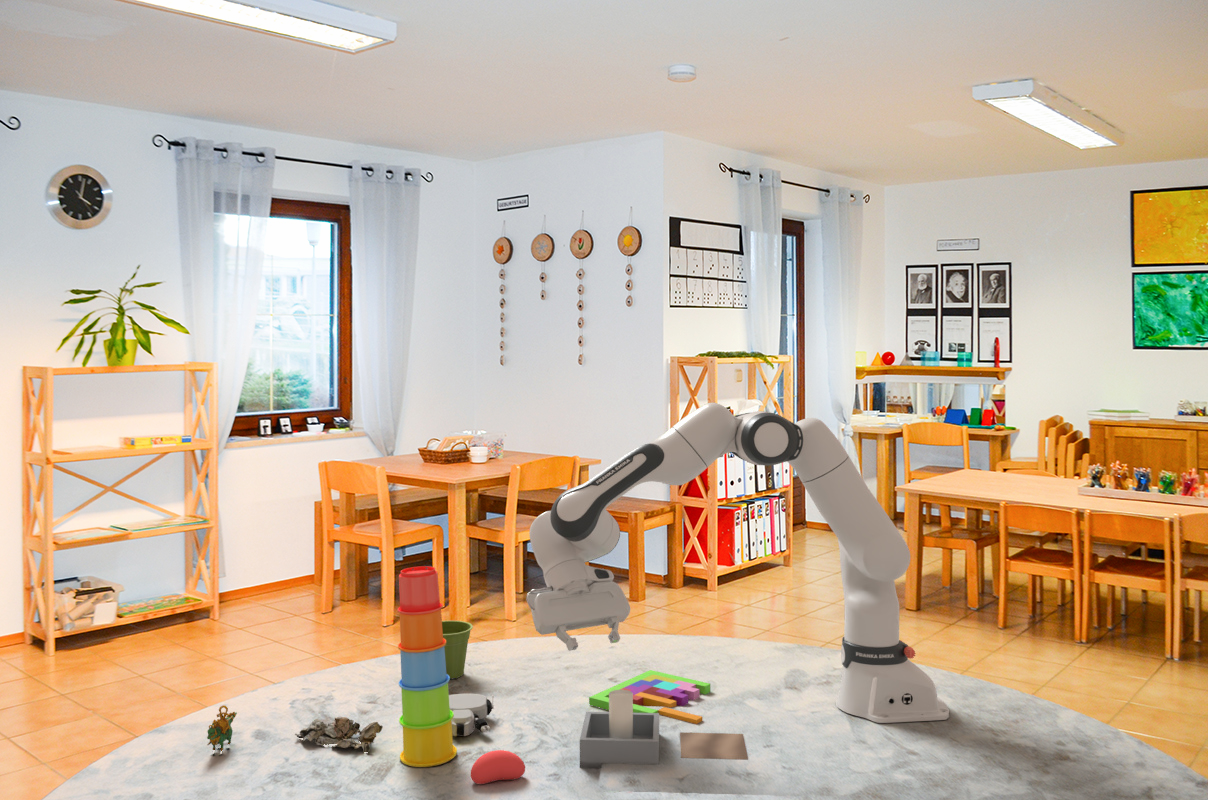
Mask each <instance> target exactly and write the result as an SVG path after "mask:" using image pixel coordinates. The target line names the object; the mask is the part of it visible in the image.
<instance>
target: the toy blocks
mask: <svg viewBox="0 0 1208 800" xmlns="http://www.w3.org/2000/svg"><path fill="white" fill-rule="evenodd" d="M614 690H628V691H631V692H632V693H633V713H659V716H664V717H667V718H672V719H674V720H675V719H676V720H680V721H683V722H687V723H689V724H690V723H691V724H694V725H698V724H699V723H701V722H703V716H700V715H697V714H693V713H690V712H689V713H688V712H685V711H681V710H679V709H678V710H677V709H673V708H677V706H680V707H684V706H686V705H688V704H689V700H691V701H696V700H697V699H699V698H700V694H701V695H704V696H705V695H707V694H709V693H711V683H708V682H704V681H700V680H697V679H693V678H692V679H691V678H688V677H682V676H679V675H675V674H670V673H666V672H665V673H664V672H662V671H661V672H660V671H658V670H657V671H656V670H652V669H650V670H647V671H644V672H643V673H640V674H638V675H636V676H634V677H632V678H629V679H627V680H624V681H623V682H621V683H618V684H616V685H614V686H612V687H609V688H607V689H604V690H602V691H600V692H598V693H595V694H593V695H592V696H591V695H590V696H588V697H589V698H588V701H589V702H588V705H589V704H590V705H593V706H597V707H600V708H603V709H602V710H604V709H607V710H606V711H608V710H609V693H610V692H611V691H614ZM593 706H592V707H593ZM597 707H596V708H597ZM651 707H656V708H657V707H660V709H656V708H655V709H654V708H651ZM600 708H599V709H600Z"/></svg>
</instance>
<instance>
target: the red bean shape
mask: <svg viewBox="0 0 1208 800" xmlns="http://www.w3.org/2000/svg"><path fill="white" fill-rule="evenodd" d="M525 771H526V765H525V763H524V761H523V760H522V758H521V757H520V756H519V755H517V754H516V753H514V752H511V751H510V750H504V749H503V750H502V749H498V750H497V749H496V750H491V751H488V752H486V753H484V754H482V755H481V756H479V757H478V758H477V759H476V760H475V762H474V763H473V764H472V766H471V769H470V779H471V780H472V782H474V783H475V784H477V785H484V784H488V783H489V784H490V783H492V782H496V781H505V780H507V781H509V780H517V779H519V778H521V777H523V776H524V774H525Z"/></svg>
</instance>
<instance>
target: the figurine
mask: <svg viewBox="0 0 1208 800" xmlns="http://www.w3.org/2000/svg"><path fill="white" fill-rule="evenodd" d="M223 708H224V709H225V711H224V712H223V711H222V709H223ZM228 708H229V707H228V706H226V705H224V704H223V705H220V706H219V709H218V711H219V713H217V714H216V718H218V719H217V720H216V719H213V721H212V724H209V726H208V729H207V736H206V738H207V740H209V742H208V743H207V744H206V746H210V745H212V750H215V751H216V750H217V747H216V746H217V745H219V746H220V745H221V748H220V749H219V751H220V750H221V751H222V750H223V751H224V743H225V742H226V741H227V745H228V744H230V743H231V744H232V738H233V737H232V736H233V728H232V726H231V725H232V723H233V722H234V719H235V718H236V716H237V714H238V712H237V711H236V712H235V711H232V712H229V709H228ZM228 712H229V713H228ZM231 744H230V745H231ZM223 751H222V752H223Z"/></svg>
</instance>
